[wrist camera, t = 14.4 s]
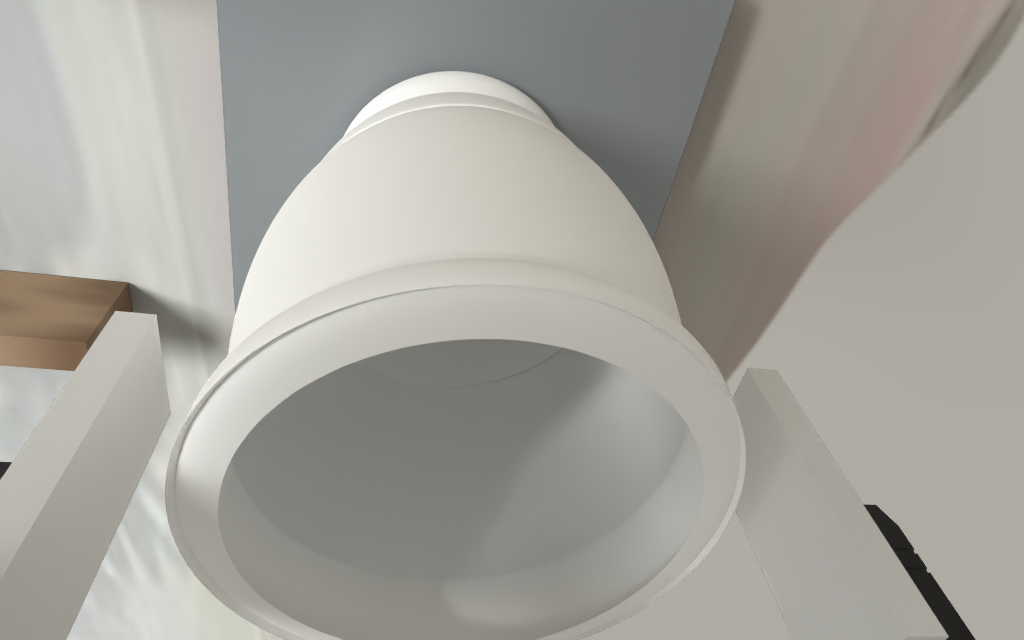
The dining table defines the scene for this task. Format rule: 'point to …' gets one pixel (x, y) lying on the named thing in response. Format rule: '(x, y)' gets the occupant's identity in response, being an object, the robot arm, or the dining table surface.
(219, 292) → the dining table surface
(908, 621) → the robot arm
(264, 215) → the plate
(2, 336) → the brown wooden u-shaped frame
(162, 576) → the dining table surface
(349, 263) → the jar
